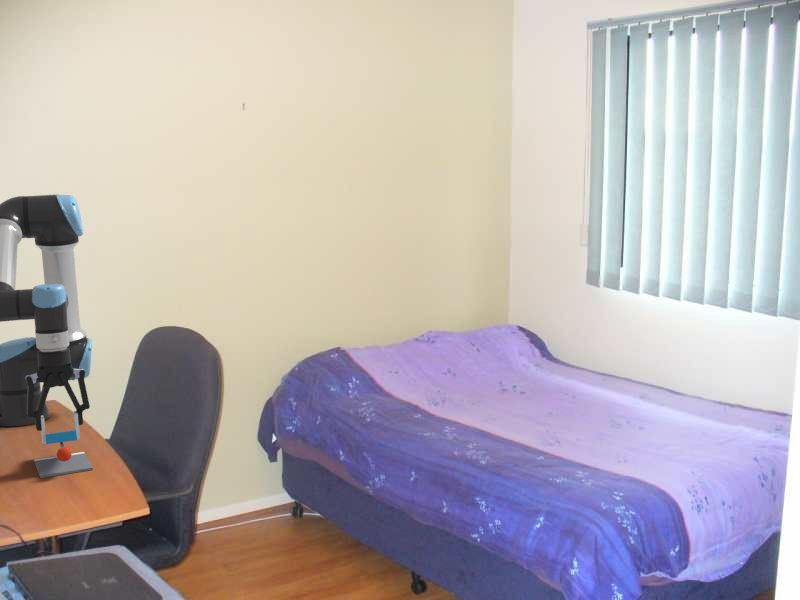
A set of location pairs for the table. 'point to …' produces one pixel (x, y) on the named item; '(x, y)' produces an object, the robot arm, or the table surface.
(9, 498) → the table surface
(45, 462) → the mat
